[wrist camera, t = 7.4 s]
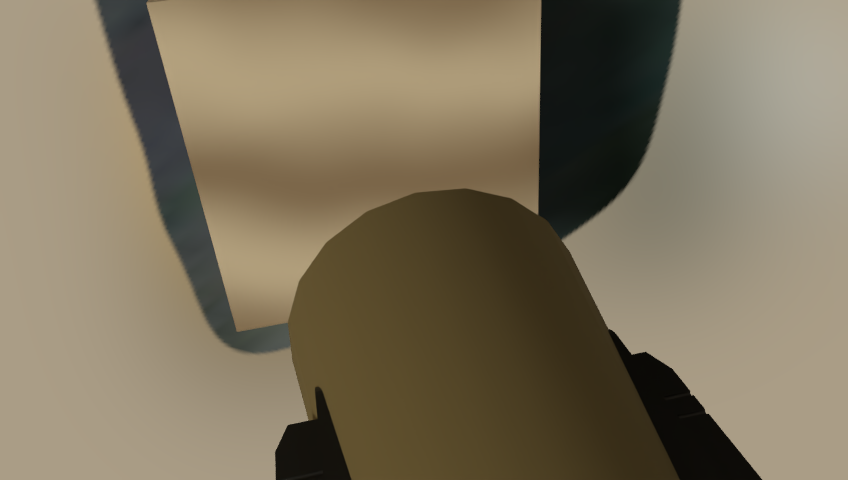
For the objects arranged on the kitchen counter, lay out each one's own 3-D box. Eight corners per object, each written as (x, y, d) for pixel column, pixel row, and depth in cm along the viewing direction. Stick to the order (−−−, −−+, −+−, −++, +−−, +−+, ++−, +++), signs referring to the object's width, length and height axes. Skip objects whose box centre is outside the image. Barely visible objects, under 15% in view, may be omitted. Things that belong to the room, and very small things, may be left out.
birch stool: (179, -36, 24) (146, 2, 17) (468, -66, 26) (541, -42, 19) (243, 225, 30) (236, 331, 23) (478, 187, 31) (537, 276, 24)
